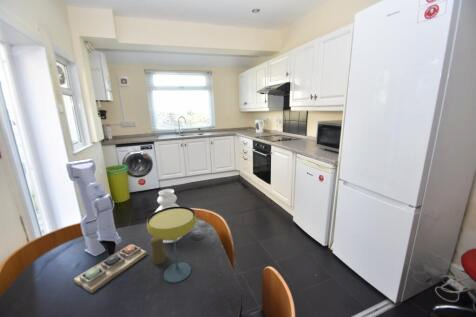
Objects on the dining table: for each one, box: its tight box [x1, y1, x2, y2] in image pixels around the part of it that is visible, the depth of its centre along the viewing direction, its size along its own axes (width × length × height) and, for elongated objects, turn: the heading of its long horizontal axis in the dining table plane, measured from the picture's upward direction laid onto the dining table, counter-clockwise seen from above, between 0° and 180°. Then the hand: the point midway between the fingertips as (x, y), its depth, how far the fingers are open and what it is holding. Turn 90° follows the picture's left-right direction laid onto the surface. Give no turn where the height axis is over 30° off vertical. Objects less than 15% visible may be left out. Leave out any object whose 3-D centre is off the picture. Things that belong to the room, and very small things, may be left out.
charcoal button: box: [105, 253, 119, 266], centre depth 89 cm, size 4×4×2 cm
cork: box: [150, 236, 167, 265], centre depth 93 cm, size 6×6×11 cm
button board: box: [73, 243, 148, 294], centre depth 90 cm, size 12×24×3 cm, turn 152°
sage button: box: [86, 268, 100, 280], centre depth 83 cm, size 4×4×2 cm
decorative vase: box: [154, 188, 183, 244], centre depth 109 cm, size 18×18×25 cm
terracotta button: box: [124, 245, 136, 255], centre depth 96 cm, size 4×4×2 cm
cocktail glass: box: [146, 205, 197, 284], centre depth 83 cm, size 18×18×25 cm
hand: (111, 253), depth 89 cm, fingers closed
